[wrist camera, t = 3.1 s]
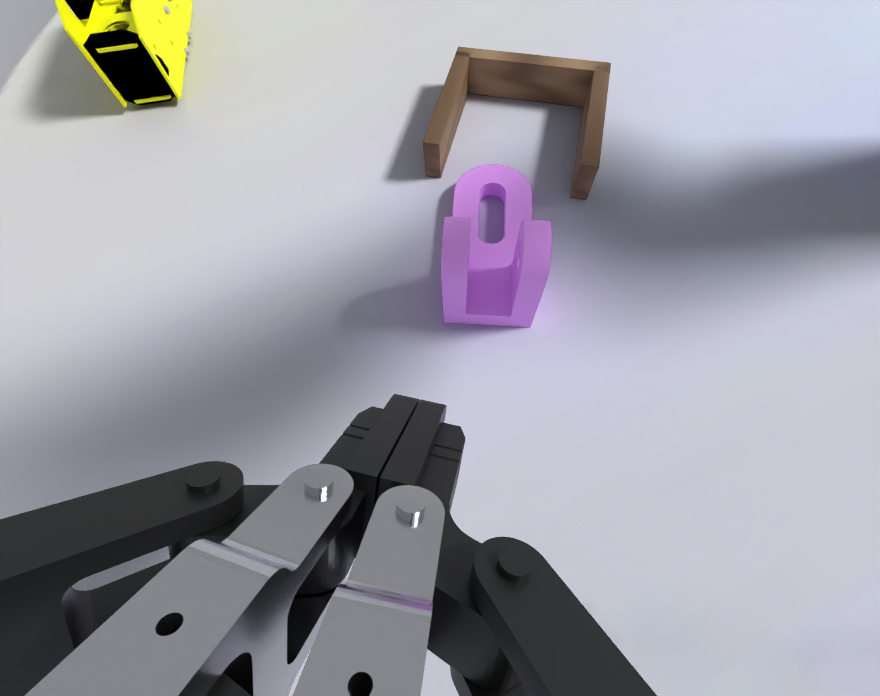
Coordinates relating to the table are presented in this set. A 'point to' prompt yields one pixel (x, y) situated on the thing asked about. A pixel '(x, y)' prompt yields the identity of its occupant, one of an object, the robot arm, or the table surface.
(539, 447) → the table surface
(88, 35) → the yellow toy chassis
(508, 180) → the bracket
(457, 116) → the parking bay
